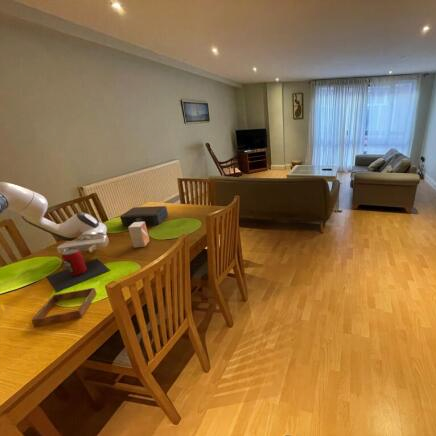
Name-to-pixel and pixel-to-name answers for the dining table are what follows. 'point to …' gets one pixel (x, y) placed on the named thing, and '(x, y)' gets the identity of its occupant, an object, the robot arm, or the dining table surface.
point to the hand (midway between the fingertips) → (76, 252)
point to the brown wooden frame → (42, 320)
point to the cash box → (145, 215)
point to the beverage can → (74, 262)
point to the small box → (139, 234)
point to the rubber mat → (66, 280)
